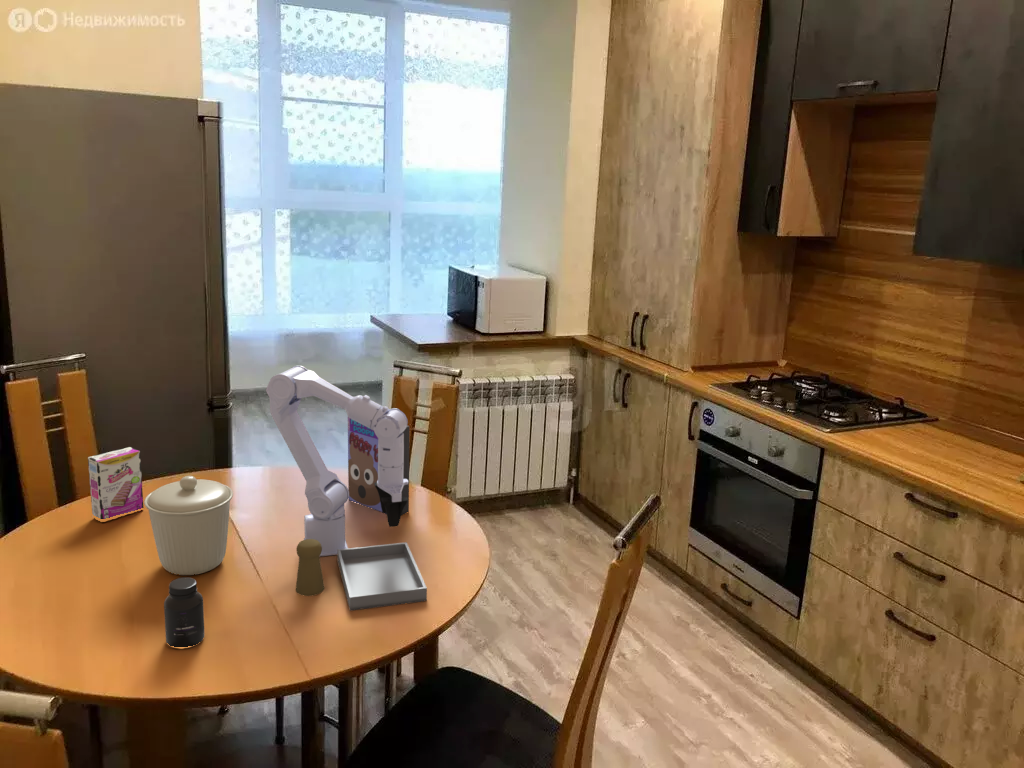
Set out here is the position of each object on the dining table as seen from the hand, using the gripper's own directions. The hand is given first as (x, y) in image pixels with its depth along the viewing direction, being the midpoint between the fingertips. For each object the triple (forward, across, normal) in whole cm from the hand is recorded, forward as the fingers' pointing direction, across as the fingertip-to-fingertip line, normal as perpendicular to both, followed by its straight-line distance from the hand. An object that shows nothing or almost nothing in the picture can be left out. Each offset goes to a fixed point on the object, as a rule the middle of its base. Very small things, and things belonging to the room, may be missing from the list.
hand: (390, 518), depth 186 cm
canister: (+10, +8, +43) cm, 45 cm away
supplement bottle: (+10, -23, +43) cm, 50 cm away
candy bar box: (+10, +40, +61) cm, 74 cm away
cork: (+10, -10, +19) cm, 24 cm away
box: (+10, -10, +4) cm, 15 cm away
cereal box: (+10, +30, -3) cm, 31 cm away
